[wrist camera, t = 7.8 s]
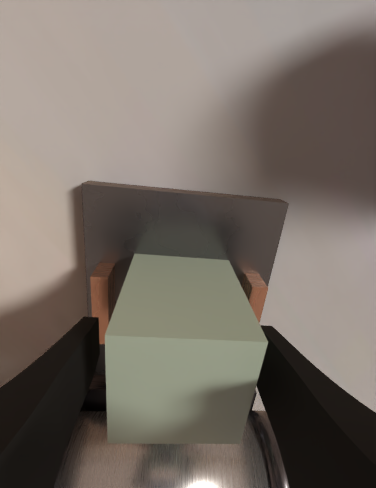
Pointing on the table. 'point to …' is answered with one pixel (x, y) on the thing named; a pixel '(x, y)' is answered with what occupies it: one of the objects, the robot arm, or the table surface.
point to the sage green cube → (181, 354)
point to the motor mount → (103, 304)
